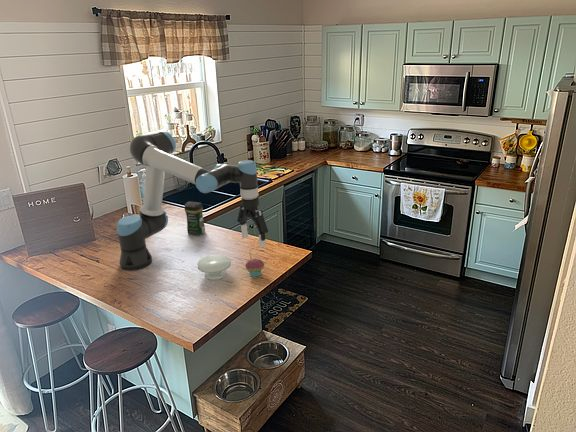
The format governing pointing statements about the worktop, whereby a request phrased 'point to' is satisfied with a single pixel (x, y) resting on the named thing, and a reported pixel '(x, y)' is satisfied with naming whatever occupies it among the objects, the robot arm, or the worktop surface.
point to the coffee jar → (194, 218)
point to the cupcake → (254, 266)
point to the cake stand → (214, 266)
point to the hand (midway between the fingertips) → (253, 242)
